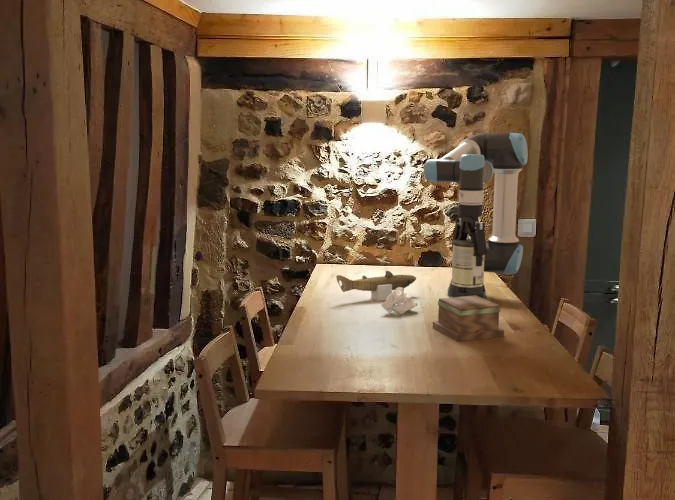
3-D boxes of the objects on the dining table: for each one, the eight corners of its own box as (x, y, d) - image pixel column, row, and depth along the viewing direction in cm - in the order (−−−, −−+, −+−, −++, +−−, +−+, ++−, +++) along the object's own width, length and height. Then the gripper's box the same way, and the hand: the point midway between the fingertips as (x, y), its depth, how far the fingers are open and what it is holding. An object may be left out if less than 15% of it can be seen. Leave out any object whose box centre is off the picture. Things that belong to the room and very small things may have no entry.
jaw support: (417, 308, 222) (397, 289, 222) (399, 324, 224) (380, 305, 225) (420, 300, 233) (402, 282, 234) (403, 316, 236) (385, 298, 236)
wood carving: (331, 300, 245) (331, 272, 243) (409, 292, 259) (409, 266, 257) (340, 306, 236) (341, 277, 235) (420, 297, 250) (421, 270, 249)
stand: (476, 322, 215) (478, 294, 213) (503, 336, 200) (505, 305, 198) (432, 327, 209) (433, 298, 208) (457, 341, 194) (458, 310, 193)
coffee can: (453, 279, 209) (455, 237, 206) (485, 282, 205) (487, 239, 203) (448, 286, 199) (450, 242, 197) (481, 288, 196) (483, 244, 193)
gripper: (442, 200, 207) (440, 266, 211) (479, 207, 186) (476, 280, 190) (462, 200, 210) (460, 265, 213) (501, 206, 188) (497, 279, 192)
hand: (467, 272), depth 202 cm, fingers closed on coffee can, 10 cm apart
